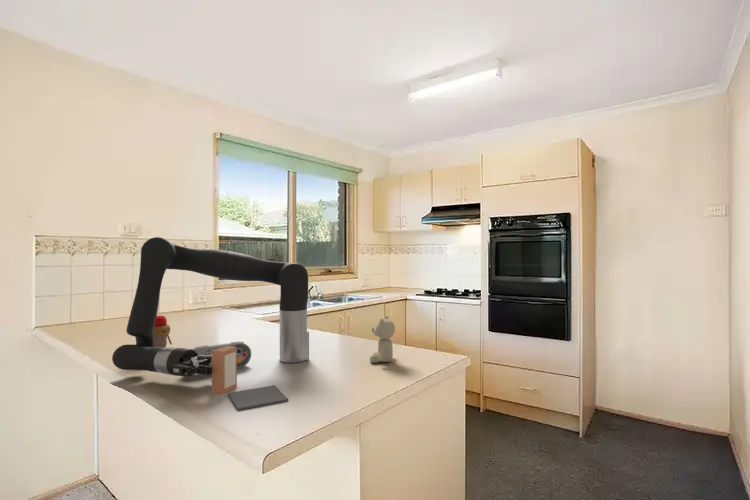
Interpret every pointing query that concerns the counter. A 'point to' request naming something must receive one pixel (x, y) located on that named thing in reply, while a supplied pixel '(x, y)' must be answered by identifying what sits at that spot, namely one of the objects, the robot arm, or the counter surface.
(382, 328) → the toy
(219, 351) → the box
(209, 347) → the game controller
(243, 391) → the mat
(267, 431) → the counter surface
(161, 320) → the toy
